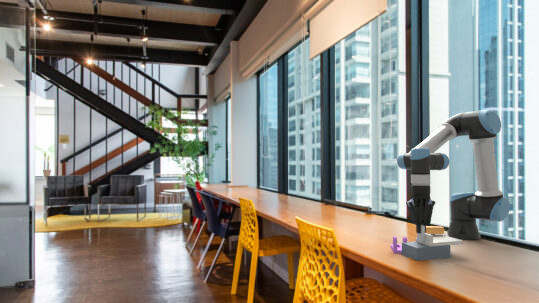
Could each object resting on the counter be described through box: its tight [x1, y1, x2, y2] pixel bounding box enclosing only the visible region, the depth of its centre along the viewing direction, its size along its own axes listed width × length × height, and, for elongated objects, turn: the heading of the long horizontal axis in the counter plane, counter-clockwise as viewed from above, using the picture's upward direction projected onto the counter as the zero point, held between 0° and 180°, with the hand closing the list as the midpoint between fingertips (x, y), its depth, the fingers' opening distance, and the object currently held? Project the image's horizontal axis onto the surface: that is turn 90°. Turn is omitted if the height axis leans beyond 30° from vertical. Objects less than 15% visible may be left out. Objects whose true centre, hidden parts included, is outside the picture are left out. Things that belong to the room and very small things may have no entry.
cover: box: [415, 232, 464, 247], centre depth 149 cm, size 16×9×4 cm, turn 105°
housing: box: [401, 241, 452, 262], centre depth 152 cm, size 22×17×5 cm
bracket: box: [390, 235, 408, 255], centre depth 158 cm, size 13×6×7 cm, turn 168°
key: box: [426, 225, 449, 237], centre depth 159 cm, size 3×11×9 cm, turn 80°
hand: (421, 240), depth 147 cm, fingers closed
